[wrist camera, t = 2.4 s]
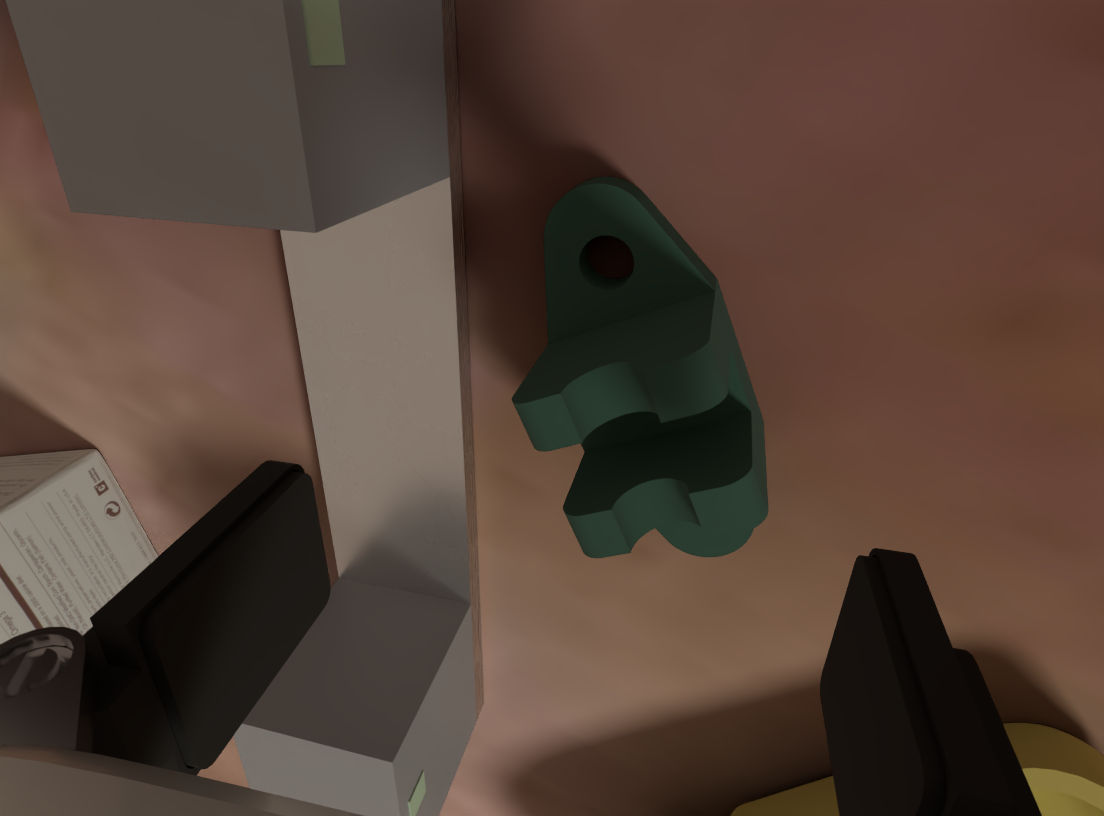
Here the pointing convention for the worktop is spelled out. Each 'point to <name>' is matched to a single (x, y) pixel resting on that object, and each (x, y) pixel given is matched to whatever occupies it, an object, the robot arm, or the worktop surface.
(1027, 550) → the worktop surface
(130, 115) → the block
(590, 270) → the mount
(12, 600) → the supplement box
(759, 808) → the plastic component
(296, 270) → the rail
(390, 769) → the block
